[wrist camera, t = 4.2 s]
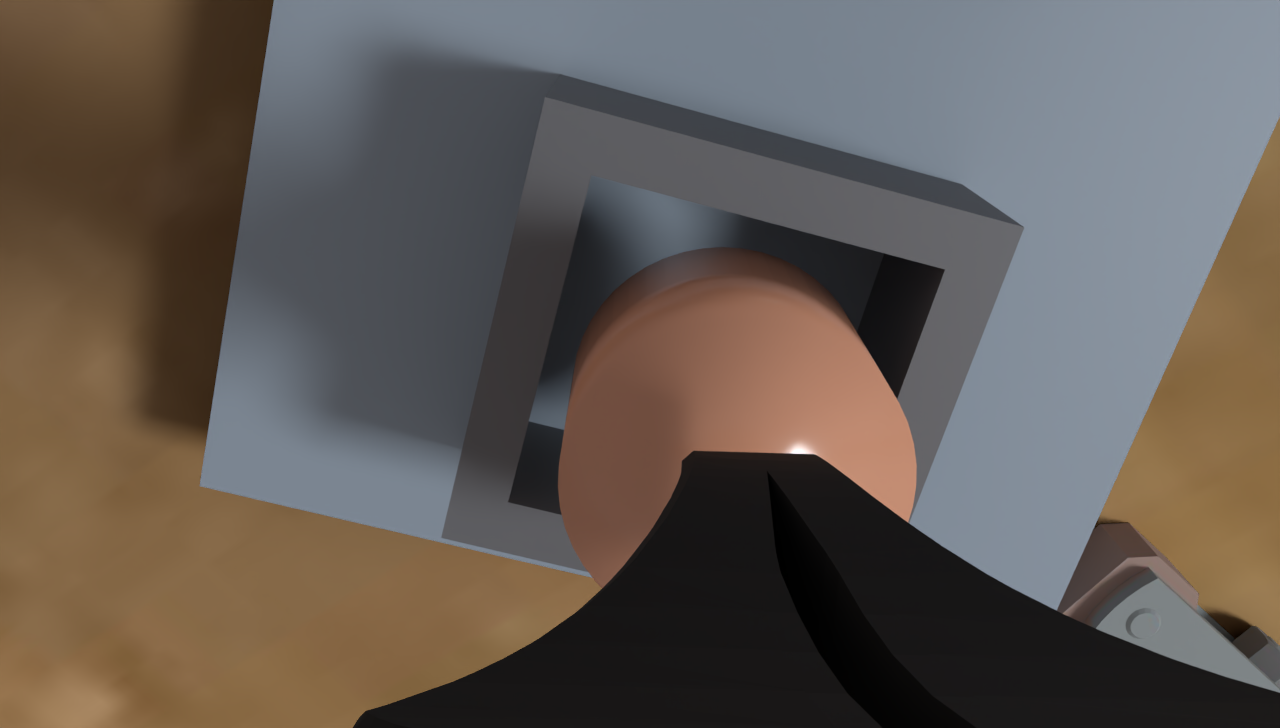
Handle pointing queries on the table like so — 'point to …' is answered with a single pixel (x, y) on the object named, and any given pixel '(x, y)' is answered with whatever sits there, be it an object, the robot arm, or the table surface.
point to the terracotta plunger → (717, 393)
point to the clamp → (1160, 609)
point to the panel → (727, 236)
